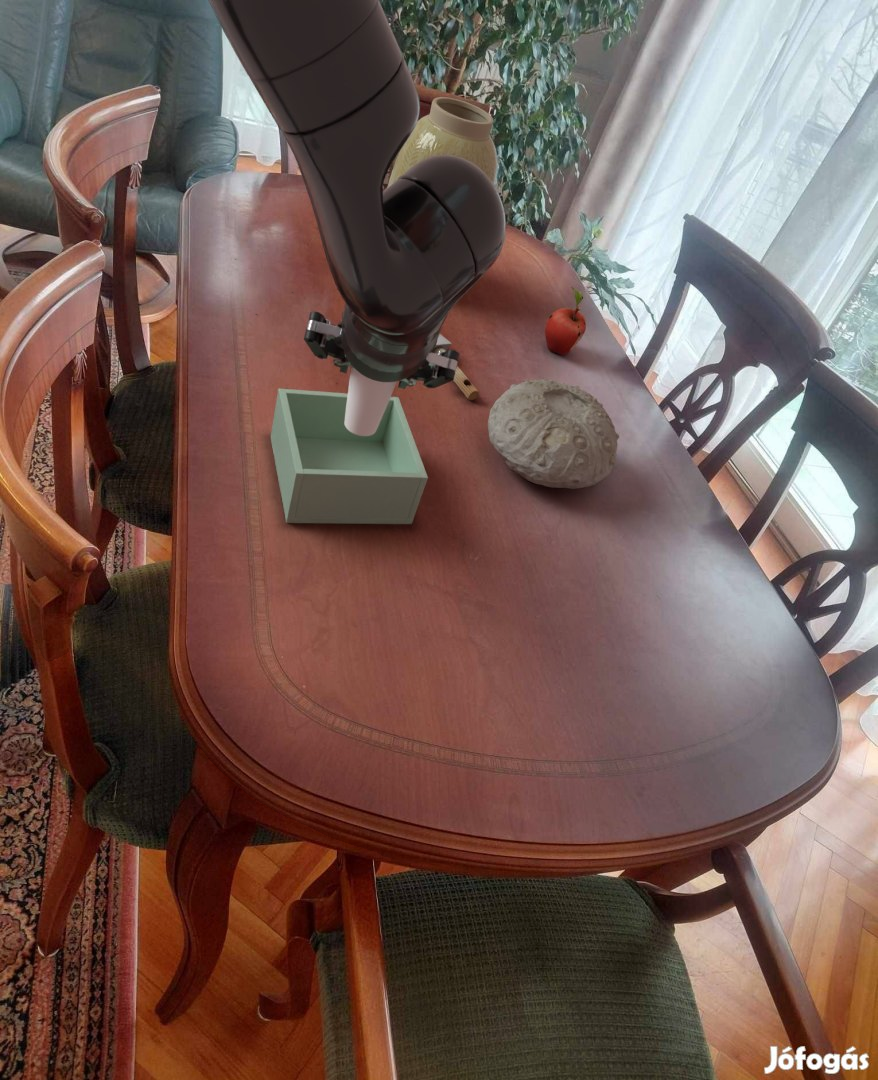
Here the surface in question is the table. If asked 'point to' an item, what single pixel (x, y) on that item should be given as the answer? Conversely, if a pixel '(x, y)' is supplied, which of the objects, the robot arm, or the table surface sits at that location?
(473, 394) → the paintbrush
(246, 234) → the table surface
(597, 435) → the decorative shell
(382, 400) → the cup
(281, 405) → the bin
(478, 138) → the vase
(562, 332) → the apple
